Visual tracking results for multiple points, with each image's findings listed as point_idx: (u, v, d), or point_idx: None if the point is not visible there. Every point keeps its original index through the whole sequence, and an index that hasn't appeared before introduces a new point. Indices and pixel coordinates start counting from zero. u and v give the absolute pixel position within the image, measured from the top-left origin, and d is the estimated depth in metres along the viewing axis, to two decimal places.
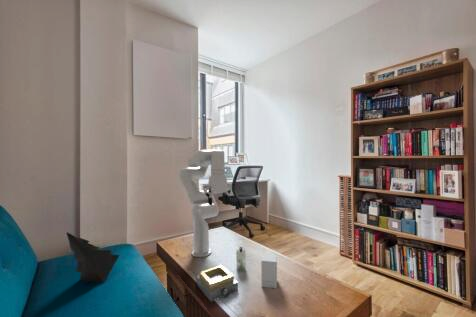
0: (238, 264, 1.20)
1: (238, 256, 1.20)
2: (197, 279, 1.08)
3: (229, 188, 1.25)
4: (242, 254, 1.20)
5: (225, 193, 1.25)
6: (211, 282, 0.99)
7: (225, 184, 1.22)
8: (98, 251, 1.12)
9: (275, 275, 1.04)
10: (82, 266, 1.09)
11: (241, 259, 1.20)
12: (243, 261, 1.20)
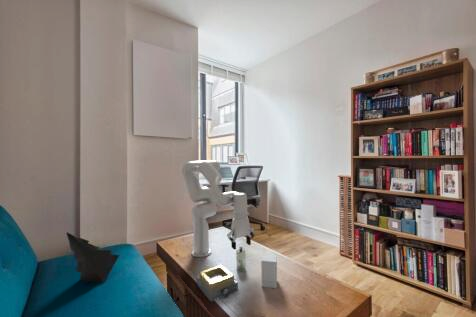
0: (238, 264, 1.20)
1: (238, 256, 1.20)
2: (197, 279, 1.08)
3: (251, 230, 1.25)
4: (242, 254, 1.20)
5: (247, 235, 1.25)
6: (211, 282, 0.99)
7: (248, 227, 1.22)
8: (98, 251, 1.12)
9: (275, 275, 1.04)
10: (82, 266, 1.09)
11: (241, 259, 1.20)
12: (243, 261, 1.20)
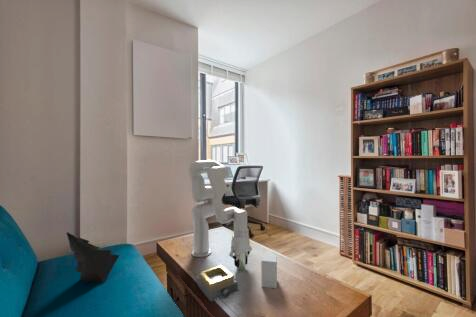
0: None
1: None
2: (197, 279, 1.08)
3: None
4: (242, 254, 1.20)
5: None
6: (211, 282, 0.99)
7: (248, 244, 1.22)
8: (98, 251, 1.12)
9: (275, 275, 1.04)
10: (82, 266, 1.09)
11: (241, 259, 1.20)
12: (243, 261, 1.20)
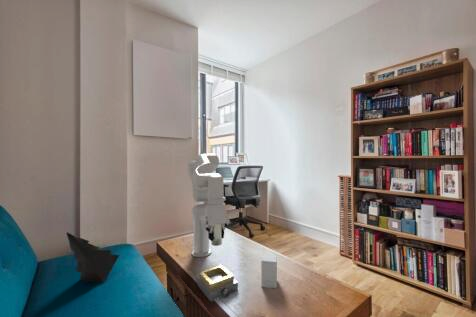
0: (213, 237, 1.04)
1: (213, 228, 1.04)
2: (197, 279, 1.08)
3: None
4: (217, 226, 1.03)
5: None
6: (211, 282, 0.99)
7: (224, 214, 1.06)
8: (98, 251, 1.12)
9: (275, 275, 1.04)
10: (82, 266, 1.09)
11: (216, 231, 1.03)
12: (218, 234, 1.04)
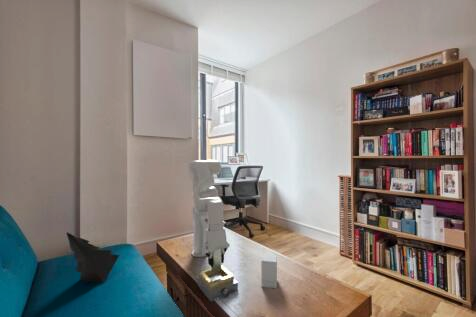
0: None
1: None
2: (197, 279, 1.08)
3: None
4: (217, 251, 1.03)
5: (221, 251, 1.08)
6: (211, 282, 0.99)
7: (224, 239, 1.05)
8: (98, 251, 1.12)
9: (275, 275, 1.04)
10: (82, 266, 1.09)
11: (216, 257, 1.03)
12: (218, 259, 1.03)
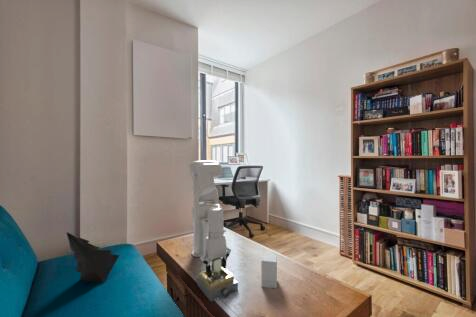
0: (213, 273, 1.04)
1: (213, 264, 1.04)
2: (197, 279, 1.08)
3: (228, 251, 1.09)
4: (217, 262, 1.04)
5: (223, 257, 1.09)
6: (211, 282, 0.99)
7: (224, 247, 1.06)
8: (98, 251, 1.12)
9: (275, 275, 1.04)
10: (82, 266, 1.09)
11: (216, 267, 1.03)
12: (218, 270, 1.04)
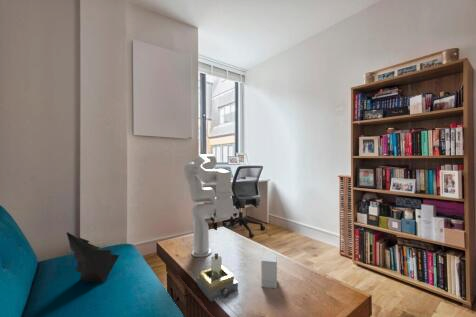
0: (213, 273, 1.04)
1: (213, 264, 1.04)
2: (197, 279, 1.08)
3: (235, 211, 1.17)
4: (217, 262, 1.03)
5: (231, 216, 1.17)
6: (211, 282, 0.99)
7: (231, 207, 1.13)
8: (98, 251, 1.12)
9: (275, 275, 1.04)
10: (82, 266, 1.09)
11: (216, 267, 1.03)
12: (218, 270, 1.04)
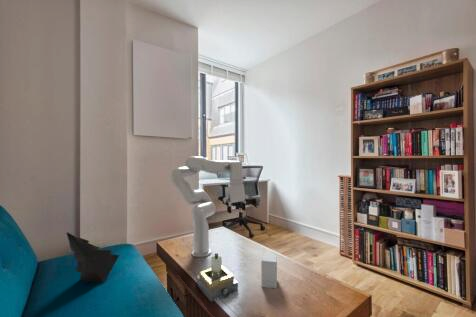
0: (213, 273, 1.04)
1: (213, 264, 1.04)
2: (197, 279, 1.08)
3: (246, 197, 1.32)
4: (217, 262, 1.03)
5: (242, 201, 1.32)
6: (211, 282, 0.99)
7: (243, 193, 1.28)
8: (98, 251, 1.12)
9: (275, 275, 1.04)
10: (82, 266, 1.09)
11: (216, 267, 1.03)
12: (218, 270, 1.04)
